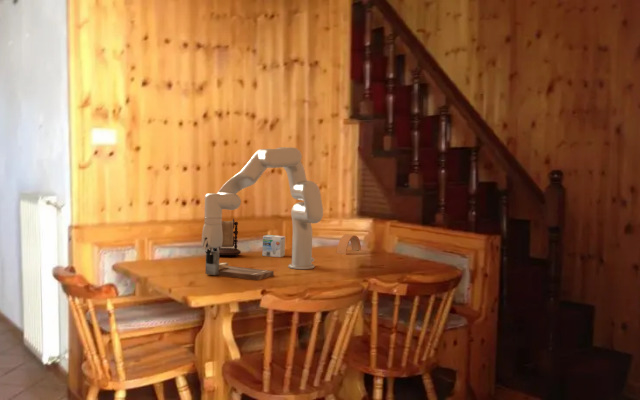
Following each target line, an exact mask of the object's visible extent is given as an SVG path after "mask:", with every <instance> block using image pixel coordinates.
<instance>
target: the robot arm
mask: <svg viewBox="0 0 640 400" xmlns="http://www.w3.org/2000/svg"><path fill="white" fill-rule="evenodd" d="M302 155H303V154H302V153H301V151H300V149H298V148H296V147H291V146H290V147H286V146H284V147H282V146H281V147H280V146H279V147H276V148H261V149H257V151H255V153H254V154H253V155H252V156H251V158H250V159H249V160H248V162H247V163H246V164H245V165H244V166H243V168H242V169H241V170H240V171H239V172H238V173H236V174H235V175H234V176H232V177H231V178H229V179H228V180H227V181H225V183H224V184H223V185H222V186H221V187H220V189H219V190H218V191H217V193H216V192H215V193H214V192H210V193H206V194H205V196H204V220H203V221H204V224H203V226H202V232H201V247H202V250H203V251H204V252H205V256H206V255H207V259H206V258H205V264H206V263H207V264H213V255H212V253H213V251H219V250H220V248H223V247H222V242H223V233H222V221H223V216H222V215H223V210H227V211H228V210H229V211H234V210H237V209H238V208H240V206H241V203H242V200H241V197H240V196H239V195H238V193H239V192H240V191H242V190H244V189H246V188H248V187H251V186H253V185H255V184H256V183H257V182H258V181H259V180H260V177H261V176H262V175H263V173H264V172H265V171H266V170H267V169H268V168H269V169H273V168H274V169H275V168H277V169H278V168H283V169H284V170H285V172H286V175H287V180H288V186H289V192H290V195H291V197H292V198H293V199H294V200H298V202H295V204H294V205H293V206H292V207H291V211H290V214H291V215H290V216H291V221H292V239H291V240H292V243H291V263H289V264H288V268H290V269H296V270H312V269H315V264H313V263H312V262H315V258H314V257H313V256H312V255H313V226H312V224H319V222H321V220H322V219H323V217H324V208H323V202H322V201H323V200H322V196H321V190H320V187H319V186H318V184H317V183H316V182H314V181H312V180H307V175H306V171H305V167H304V165H303V163H302V157H303V156H302Z"/></svg>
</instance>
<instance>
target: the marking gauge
mask: <svg viewBox="0 0 640 400" xmlns="http://www.w3.org/2000/svg"><path fill="white" fill-rule="evenodd" d="M212 255H213V264H207V263H206V262H205V271H204V272H205V275H210V274H212V276H217V275H216V274H219V269H224V268H228V266H229V262H220V257H219V251H213V253H212ZM206 259H207V255H206V254H205V260H206Z"/></svg>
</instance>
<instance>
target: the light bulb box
mask: <svg viewBox="0 0 640 400" xmlns="http://www.w3.org/2000/svg"><path fill="white" fill-rule="evenodd" d="M285 249H286V236H285V235H272V234H266V235H263V236H262V256H264V257H272V258H274V257H275V258H282V257H284V256H286V255H285V253H286V250H285Z"/></svg>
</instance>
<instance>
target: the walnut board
mask: <svg viewBox="0 0 640 400" xmlns="http://www.w3.org/2000/svg"><path fill="white" fill-rule="evenodd" d="M274 274H275V273H274V270H267V269H258V268H257V269H256V268H252V267H251V268H250V267H240V266H232V265H228V268H224V269H219V274H216V275H215V276H217V277H219V276H220V277H227V278H228V277H230V278H234V279H235V278H236V279H243V280H254V281H259V280H262V279H266V278H269V277H274ZM209 275H212V274H209ZM212 276H213V275H212Z"/></svg>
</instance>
